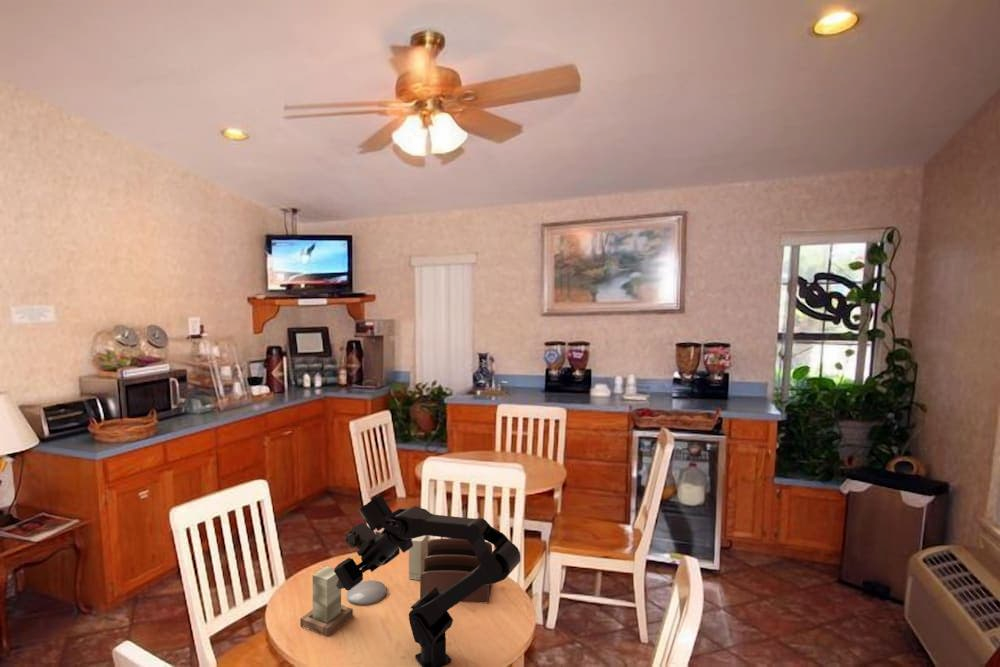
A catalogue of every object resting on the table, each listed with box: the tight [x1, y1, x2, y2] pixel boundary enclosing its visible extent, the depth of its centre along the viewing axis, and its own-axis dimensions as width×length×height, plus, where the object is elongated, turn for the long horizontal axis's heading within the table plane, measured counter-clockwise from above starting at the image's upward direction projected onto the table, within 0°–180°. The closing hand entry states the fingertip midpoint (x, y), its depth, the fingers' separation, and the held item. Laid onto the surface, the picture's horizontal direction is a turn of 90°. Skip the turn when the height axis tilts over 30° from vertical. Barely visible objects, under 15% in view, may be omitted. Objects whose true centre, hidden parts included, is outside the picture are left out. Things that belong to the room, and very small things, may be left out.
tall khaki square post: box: [312, 566, 342, 624], centre depth 128 cm, size 5×5×13 cm
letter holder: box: [419, 538, 493, 603], centre depth 143 cm, size 10×20×14 cm, turn 85°
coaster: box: [346, 579, 387, 606], centre depth 141 cm, size 11×11×1 cm
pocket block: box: [299, 604, 354, 637], centre depth 129 cm, size 9×9×2 cm
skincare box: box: [408, 535, 429, 581], centre depth 152 cm, size 6×4×12 cm
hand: (350, 577), depth 125 cm, fingers open, 9 cm apart
